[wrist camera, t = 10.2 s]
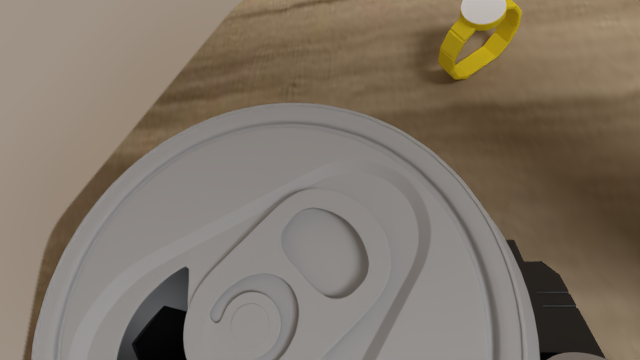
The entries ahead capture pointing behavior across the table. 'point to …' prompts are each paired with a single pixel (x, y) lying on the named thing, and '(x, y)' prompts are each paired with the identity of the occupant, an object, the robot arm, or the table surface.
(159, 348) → the robot arm
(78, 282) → the beverage can
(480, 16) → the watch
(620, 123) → the table surface
